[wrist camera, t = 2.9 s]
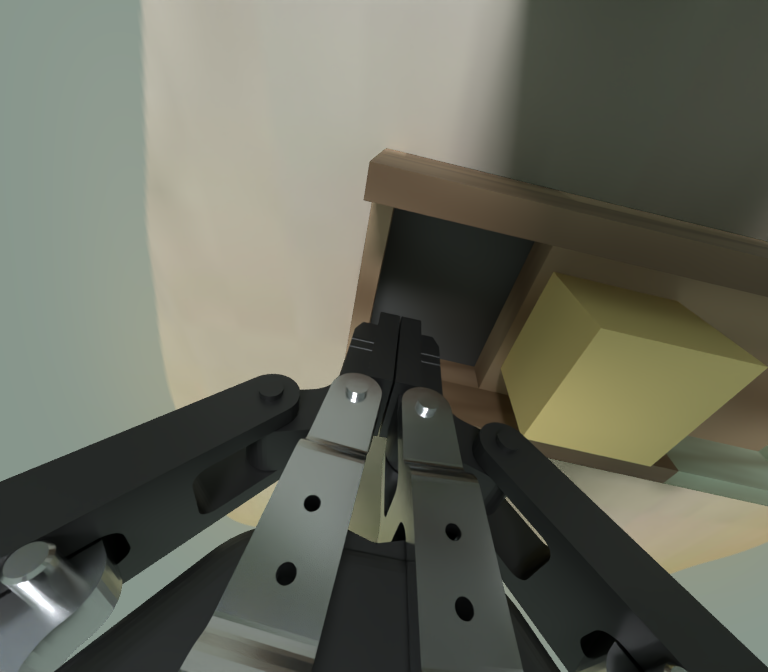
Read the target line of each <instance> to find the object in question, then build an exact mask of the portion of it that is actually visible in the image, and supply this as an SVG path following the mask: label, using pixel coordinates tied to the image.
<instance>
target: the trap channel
mask: <svg viewBox="0 0 768 672" xmlns="http://www.w3.org/2000/svg"><path fill="white" fill-rule="evenodd" d="M364 200H365V201H369V202H372V204H371V210H370V216H369V222H368V228H367V233H366V239H365V245H364V251H363V257H362V263H361V268H360V274H359V280H358V286H357V292H356V298H355V304H354V309H353V315H352V321H351V327H350V333H349V339H348V344H347V350H346V355H347V351H348V348H349V346H350V342H351V339H352V336H353V333H354V330H355V328H356V327H357V326H359V325H360V324H361V323H362V322H367V323H371V324H376V325H378V321H379V317H380V312H385V313H389V314H394V315H398V316H400V319H401V316H403V317H408V318H412V319H416V320H421V335H426V336H430V337H433V338H434V340H435V341H436V343H437V344H438V346H439V353H440V357H439V358H440V366H441V378H442V391H443V397H444V398H445V399H446V400H447V401H448V402H449V404H450V407H451V410H452V413H453V414H454V415H455V416H456V417H458V418H459V419H461V420H463V421H464V422H466V423H468V424H471V425H473V426H475V427H477V428H479V429H481V428H482V427H483V426H484V425H486V424H488V423H491V422H498V423H503V424H506V425H509V426H511V427H513V428H514V429H516V430H517V431H519V427H518V424H517V421H516V417H515V414H514V411H513V408H512V404H511V401H510V398H509V394H508V391H507V388H506V385H505V381H504V378H503V375H502V371H501V367H502V365H503V363H504V361H505V359H506V358H507V356H508V354H509V352H510V350H511V348H512V347H513V345H514V343H515V341H516V339H517V338H518V336H519V334H520V332H521V330H522V328H523V327H524V325H525V323H526V321H527V319H528V317H529V316H530V314H531V312H532V310H533V308H534V306H535V305H536V303H537V301H538V299H539V297H540V296H541V294H542V292H543V290H544V288H545V286H546V285H547V283H548V281H549V279H550V277H551V275H552V274H553V272H557V273H561V274H565V275H569V276H574V277H578V278H582V279H586V280H590V281H595V282H599V283H603V284H607V285H611V286H616V287H620V288H624V289H628V290H633V291H637V292H641V293H645V294H649V295H654V296H658V297H662V298H666V299H670V300H675V301H678V302H679V303H681V304H682V305H683V306H685V307H686V308H687V309H689V310H690V311H692V312H693V313H694V314H696V315H697V316H698V317H700V318H701V319H703V320H704V321H705V322H707V323H708V324H710V325H711V326H712V327H714V328H715V329H716V330H718V331H719V332H721V333H722V334H723V335H725V336H726V337H727V338H729V339H730V340H732V341H733V342H734V343H736V344H737V345H738V346H740V347H741V348H743V349H744V350H745V351H747V352H748V353H749V354H751V355H752V356H754V357H755V358H756V359H758V360H759V361H760V362H762V363H763V364H765V365H766V366H767V367H768V242H766V241H762V240H758V239H754V238H750V237H746V236H742V235H738V234H734V233H730V232H726V231H722V230H718V229H713V228H709V227H705V226H701V225H697V224H693V223H689V222H685V221H681V220H677V219H673V218H669V217H665V216H660V215H656V214H652V213H648V212H644V211H640V210H636V209H632V208H628V207H624V206H620V205H616V204H612V203H608V202H603V201H599V200H595V199H591V198H587V197H583V196H579V195H575V194H571V193H567V192H563V191H559V190H555V189H550V188H546V187H542V186H538V185H534V184H530V183H526V182H522V181H518V180H514V179H510V178H506V177H502V176H497V175H493V174H489V173H485V172H481V171H477V170H473V169H469V168H465V167H461V166H457V165H453V164H449V163H445V162H440V161H436V160H432V159H428V158H424V157H420V156H416V155H412V154H408V153H404V152H400V151H396V150H392V149H387V148H386V149H385V150H383V151H382V152H381V153H380V154H378V155H377V156H376V157H375V158H373V159H372V160H371V161H370V163H369V169H368V176H367V182H366V188H365V195H364ZM345 358H346V356H345ZM344 361H345V360H344ZM343 364H344V363H343ZM342 367H343V366H342ZM341 370H342V369H341ZM340 373H341V372H340ZM519 432H520V431H519ZM529 441H530V442H531V443H532V444H533V445H534V446H535V447H536V448H537V449H538V450H539V451H540V452H541V453H542V454H543V455H545V456H546V457H547V458H551V459H555V460H560V461H564V462H569V463H573V464H578V465H583V466H587V467H592V468H596V469H601V470H605V471H610V472H614V473H619V474H623V475H628V476H633V477H637V478H642V479H646V480H651V481H655V482H660V483H664V484H669V485H673V486H678V487H683V488H687V489H692V490H696V491H701V492H705V493H710V494H714V495H719V496H723V497H728V498H733V499H737V500H742V501H746V502H751V503H755V504H760V505H764V506H768V368H767V369H766V370H765V371H763V372H762V373H761V374H760V375H759V376H757V377H756V378H755V379H754V380H753V381H752V382H750V383H749V384H748V385H747V386H746V387H744V388H743V389H742V390H741V391H740V392H738V393H737V394H736V395H735V396H734V397H733V398H731V399H730V400H729V401H728V402H727V403H725V404H724V405H723V406H722V407H721V408H719V409H718V410H717V411H716V412H715V413H714V414H712V415H711V416H710V417H709V418H708V419H706V420H705V421H704V422H703V423H702V424H700V425H699V426H698V427H697V428H696V429H695V430H693V431H692V432H691V433H690V434H689V435H687V436H686V437H685V438H684V439H683V440H681V441H680V442H679V443H678V444H677V445H676V446H674V447H673V448H672V449H671V450H670V451H668V452H667V453H666V454H665V455H664V456H662V457H661V458H660V459H659V460H658V461H657V462H655V463H654V464H653V465H652V466H651V467H650V466H646V465H641V464H637V463H632V462H628V461H623V460H618V459H614V458H609V457H605V456H600V455H596V454H591V453H587V452H582V451H578V450H573V449H569V448H564V447H560V446H555V445H551V444H546V443H542V442H537V441H533V440H529Z"/></svg>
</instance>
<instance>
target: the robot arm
mask: <svg viewBox="0 0 768 672" xmlns="http://www.w3.org/2000/svg"><path fill="white" fill-rule="evenodd" d="M439 357H440V353H439V346H438V344H437V343H436V341H435V340H434V338H433V337H430V336H426V335H421V320H416V319H412V318H408V317H403V316H401V319H400V316H398V315H394V314H389V313H385V312H380V317H379V321H378V325H376V324H371V323H367V322H362V323H361V324H360V325H359V326H357V327H356V328H355V330H354V333H353V336H352V339H351V342H350V346H349V348H348V351H347V355H346V358H345V361H344V364H343V367H342V370H341V373H340V376H338V377H337V378H336V379H335V380H334V381H333V382H332V384H331V385H329V386H327V387H324V388H320V389H309V390H300V389H299V386H298V385H297V383H296V382H295V381H294V380H292V379H291V378H289V377H287V376H284V375H279V374H266V375H262V376H259V377H256V378H253V379H251V380H249V381H246V382H244V383H241V384H239V385H236V386H234V387H231V388H229V389H226V390H224V391H222V392H219V393H217V394H214V395H212V396H209V397H207V398H204V399H202V400H199V401H197V402H195V403H192V404H190V405H187V406H185V407H182V408H180V409H177V410H175V411H173V412H170V413H168V414H165V415H163V416H160V417H158V418H156V419H153V420H151V421H148V422H146V423H143V424H141V425H138V426H136V427H133V428H131V429H129V430H126V431H124V432H121V433H119V434H116V435H114V436H111V437H109V438H106V439H104V440H101V441H99V442H97V443H94V444H92V445H89V446H87V447H84V448H82V449H79V450H77V451H75V452H72V453H70V454H67V455H65V456H62V457H60V458H57V459H55V460H52V461H50V462H48V463H45V464H43V465H40V466H38V467H36V468H33V469H30V470H28V471H26V472H23V473H21V474H18V475H16V476H13V477H11V478H8V479H6V480H3V481H1V482H0V672H560V670H559V669H558V667H557V666H556V664H555V663H554V661H553V660H552V658H551V657H550V656H549V654H548V652H547V651H546V650H545V648H544V647H543V645H542V644H541V642H540V641H539V639H538V638H537V636H536V635H535V633H534V632H533V630H532V629H531V627H530V626H529V624H528V623H527V622H526V620H525V619H524V617H523V616H522V614H521V613H520V611H519V610H518V609H517V607H516V606H515V605H514V603H513V602H512V601H511V600H510V598H509V597H508V596H507V595H506V594H505V591H504V587H503V583H502V580H503V582H504V583H505V585H506V586H507V587H508V589H509V590H510V592H511V593H512V594H513V596H514V597H515V598H516V600H517V601H518V603H519V604H520V605H521V607H522V608H523V609H524V611H525V612H526V613H527V615H528V616H529V618H530V619H531V621H532V622H533V623H534V625H535V626H536V627H537V629H538V630H539V632H540V633H541V634H542V636H543V637H544V638H545V640H546V641H547V643H548V644H549V645H550V647H551V648H552V650H553V651H554V652H555V654H556V655H557V656H558V658H559V659H560V660H561V662H562V663H563V664H564V666H565V667H566V669H567V670H568V672H768V667H767V666H766V665H765V664H763V663H762V662H761V661H760V660H759V659H758V658H757V657H756V656H755V655H754V654H753V653H752V652H751V651H750V650H749V649H748V648H747V647H745V645H743V644H742V643H741V642H740V641H739V640H738V639H737V638H736V637H735V636H734V635H733V634H732V633H731V632H730V631H729V630H728V629H727V628H726V627H724V625H722V624H721V623H720V622H719V621H718V620H717V619H716V618H715V617H714V616H713V615H712V614H711V613H710V612H709V611H708V610H707V609H706V608H704V607H703V606H702V605H701V604H700V603H699V602H698V601H697V600H696V599H695V598H694V597H693V596H692V595H691V594H690V593H689V592H688V591H687V590H686V589H685V588H684V587H682V586H681V585H680V584H679V583H678V582H677V581H676V580H675V579H674V578H673V577H672V576H671V575H670V574H669V573H668V572H667V571H666V570H665V569H663V568H662V567H661V566H660V565H659V564H658V563H657V562H656V561H655V560H654V559H653V558H652V557H651V556H650V555H649V554H648V553H647V552H646V551H645V550H643V549H642V548H641V547H640V546H639V545H638V544H637V543H636V542H635V541H634V540H633V539H632V538H631V537H630V536H629V535H628V534H627V533H626V532H625V531H623V530H622V529H621V528H620V527H619V526H618V525H617V524H616V523H615V522H614V521H613V520H612V519H611V518H610V517H609V516H608V515H607V514H606V513H605V512H603V511H602V510H601V509H600V508H599V507H598V506H597V505H596V504H595V503H594V502H593V501H592V500H591V499H590V498H589V497H588V496H587V495H586V494H585V493H583V492H582V491H581V490H580V489H579V488H578V487H577V486H576V485H575V484H574V483H573V482H572V481H571V480H570V479H569V478H568V477H567V476H566V475H565V474H563V473H562V472H561V471H560V470H559V469H558V468H557V467H556V466H555V465H554V464H553V463H552V462H551V461H550V460H549V459H548V458H547V457H546V456H545V455H543V454H542V453H541V452H540V451H539V450H538V449H537V448H536V447H535V446H534V445H533V444H532V443H531V442H530V441H529V440H528V439H527V438H526V437H525V436H523V435H522V434H521V433H520V432H519V431H517V430H516V429H514V428H513V427H511V426H509V425H506V424H503V423H498V422H491V423H488V424H486V425H484V426H483V427H482V428H481V429H479V428H477V427H475V426H473V425H471V424H468V423H466V422H464V421H463V420H461V419H459V418H458V417H456V416H455V415H454V414H453V413H452V410H451V407H450V404H449V402H448V401H447V400H446V399H445V398H444V397H443V391H442V378H441V366H440V358H439ZM380 425H381V428H380ZM379 428H380V435H379V437H384V438H387V443H386V450H385V453H384V456H383V459H382V481H381V513H380V528H379V534H378V539H377V543H374V542H371V541H369V540H367V539H365V538H363V537H361V536H359V535H357V534H355V533H353V532H351V531H349V530H348V527H349V523H350V519H351V515H352V511H353V507H354V503H355V499H356V495H357V491H358V488H359V484H360V480H361V476H362V472H363V468H364V464H365V460H366V455H367V453H368V452H369V449H370V446H371V442H372V439H373V435H374V436H377V435H378V431H379ZM278 480H279V481H278ZM276 481H278V483H277V485H276V487H275V489H274V491H273V494H272V496H271V498H270V500H269V502H268V504H267V506H266V508H265V510H264V512H263V514H262V516H261V518H260V520H259V522H258V524H257V526H256V528H255V529H253V530H250V531H247V532H244V533H242V534H240V535H237V536H235V537H233V538H231V539H229V540H228V541H226V542H225V543H223V544H221V545H219V546H218V547H217V548H215V549H214V550H212V551H211V552H210V553H208V554H207V555H206V556H205V557H203V558H202V559H200V561H198V562H197V563H195V564H194V565H193V566H191V567H190V568H189V569H187V570H186V571H185V572H183V573H182V574H181V575H180V576H178V577H177V578H176V579H174V580H173V581H172V582H171V583H169V584H168V585H166V586H165V587H164V588H163V589H161V590H160V591H159V592H157V593H156V594H155V595H154V596H152V597H151V598H150V599H148V600H147V601H145V602H144V603H143V604H142V605H141V606H139V607H138V608H136V609H135V610H134V611H132V612H131V613H130V614H128V615H127V616H126V617H125V618H123V619H122V620H121V621H119V622H118V623H117V624H116V625H114V626H113V627H111V628H110V629H109V630H108V631H106V632H105V633H104V634H102V635H101V636H100V637H99V638H97V639H96V640H94V641H93V642H92V643H91V644H89V645H88V646H87V647H85V648H84V649H83V650H81V651H80V652H79V653H77V654H76V655H75V656H74V657H72V658H71V659H70V660H68V661H67V662H66V663H64V661H66V659H67V658H68V657H69V656H70V655H71V654H72V653H73V652H74V651H75V650H76V649H77V648H78V647H79V646H80V645H81V644H83V643H84V642H85V641H86V640H87V639H88V638H90V637H91V636H92V635H93V634H94V633H95V632H96V631H97V630H98V629H99V628H100V627H101V626H102V625H103V623H104V622H105V621H106V620H107V619H108V617H109V616H110V614H111V613H112V611H113V610H114V608H115V606H116V604H117V602H118V600H119V597H120V594H121V589H122V584H123V583H125V582H127V581H128V580H130V579H131V578H133V577H134V576H135V575H137V574H139V573H140V572H141V571H143V570H144V569H146V568H147V567H149V566H150V565H152V564H153V563H155V562H156V561H158V560H159V559H161V558H162V557H164V556H165V555H167V554H168V553H170V552H171V551H173V550H174V549H176V548H177V547H179V546H180V545H182V544H183V543H185V542H186V541H188V540H189V539H191V538H192V537H194V536H195V535H197V534H198V533H200V532H201V531H203V530H204V529H206V528H207V527H209V526H210V525H212V524H213V523H215V522H216V521H218V520H219V519H221V518H222V517H224V516H225V515H227V514H228V513H230V512H231V511H233V510H234V509H236V508H237V507H239V506H240V505H242V504H243V503H245V502H246V501H248V500H249V499H251V498H252V497H254V496H255V495H257V494H258V493H260V492H261V491H263V490H264V489H266V488H267V487H269V486H270V485H272V484H273V483H275V482H276ZM506 497H508V498H509V499H510V501H511V502H512V503H513V504H514V505H515V506H516V507H517V509H518V510H519V511H520V512H521V513H522V514H523V515H524V517H525V518H526V519H527V520H528V521H529V522H530V524H531V525H532V526H533V527H534V528H535V529H536V530H537V532H538V533H539V534H540V535H541V536H542V537H543V539H544V540H545V541H546V543H547V545H548V546H546V545H545V544H544V543H543V542H542V541H541V540H540V539H539V538H538V536H537V535H536V534H535V533H534V532H533V531H532V529H531V528H530V527H529V526H528V525H527V524H526V523H525V521H524V520H523V519H522V518H521V517H520V516H519V514H518V513H517V512H516V511H515V510H514V509H513V507H512V506H511V505H510V504H509V503H508V502H507V501H506V499H505V498H506ZM63 663H64V664H63ZM62 664H63V665H62ZM61 665H62V666H61Z"/></svg>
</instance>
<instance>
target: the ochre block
mask: <svg viewBox="0 0 768 672" xmlns="http://www.w3.org/2000/svg"><path fill="white" fill-rule="evenodd" d="M767 368H768V367H767V366H766V365H765V364H763V363H762V362H760V361H759V360H758V359H756V358H755V357H754V356H752V355H751V354H749V353H748V352H747V351H745V350H744V349H743V348H741V347H740V346H738V345H737V344H736V343H734V342H733V341H732V340H730V339H729V338H727V337H726V336H725V335H723V334H722V333H721V332H719V331H718V330H716V329H715V328H714V327H712V326H711V325H710V324H708V323H707V322H705V321H704V320H703V319H701V318H700V317H698V316H697V315H696V314H694V313H693V312H692V311H690V310H689V309H687V308H686V307H685V306H683V305H682V304H681V303H679V302H678V301H675V300H670V299H666V298H662V297H658V296H654V295H649V294H645V293H641V292H637V291H633V290H628V289H624V288H620V287H616V286H611V285H607V284H603V283H599V282H595V281H590V280H586V279H582V278H578V277H574V276H569V275H565V274H561V273H557V272H553V274H552V275H551V277H550V279H549V281H548V283H547V285H546V286H545V288H544V290H543V292H542V294H541V296H540V297H539V299H538V301H537V303H536V305H535V306H534V308H533V310H532V312H531V314H530V316H529V317H528V319H527V321H526V323H525V325H524V327H523V328H522V330H521V332H520V334H519V336H518V338H517V339H516V341H515V343H514V345H513V347H512V348H511V350H510V352H509V354H508V356H507V358H506V359H505V361H504V363H503V365H502V367H501V371H502V375H503V378H504V381H505V385H506V388H507V391H508V394H509V398H510V401H511V404H512V408H513V411H514V414H515V417H516V421H517V424H518V427H519V431H520V433H521V434H522V435H523V436H525V437H526V438H527V439H528V440H533V441H537V442H542V443H546V444H551V445H555V446H560V447H564V448H569V449H573V450H578V451H582V452H587V453H591V454H596V455H600V456H605V457H609V458H614V459H618V460H623V461H628V462H632V463H637V464H641V465H646V466H650V467H651V466H652V465H653V464H654V463H655V462H657V461H658V460H659V459H660V458H661V457H662V456H664V455H665V454H666V453H667V452H668V451H670V450H671V449H672V448H673V447H674V446H676V445H677V444H678V443H679V442H680V441H681V440H683V439H684V438H685V437H686V436H687V435H689V434H690V433H691V432H692V431H693V430H695V429H696V428H697V427H698V426H699V425H700V424H702V423H703V422H704V421H705V420H706V419H708V418H709V417H710V416H711V415H712V414H714V413H715V412H716V411H717V410H718V409H719V408H721V407H722V406H723V405H724V404H725V403H727V402H728V401H729V400H730V399H731V398H733V397H734V396H735V395H736V394H737V393H738V392H740V391H741V390H742V389H743V388H744V387H746V386H747V385H748V384H749V383H750V382H752V381H753V380H754V379H755V378H756V377H757V376H759V375H760V374H761V373H762V372H763V371H765V370H766V369H767Z"/></svg>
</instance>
